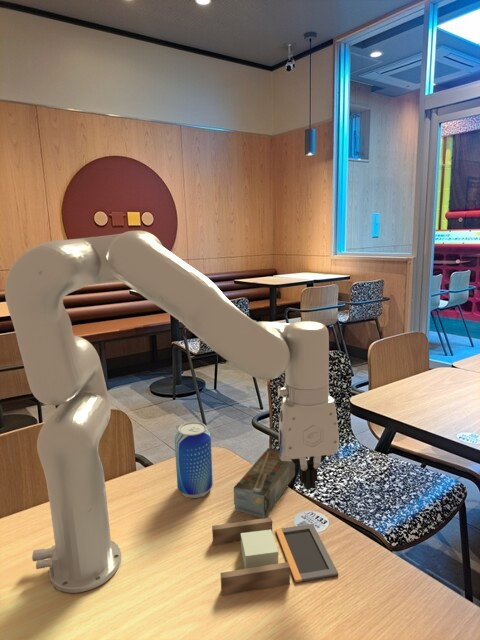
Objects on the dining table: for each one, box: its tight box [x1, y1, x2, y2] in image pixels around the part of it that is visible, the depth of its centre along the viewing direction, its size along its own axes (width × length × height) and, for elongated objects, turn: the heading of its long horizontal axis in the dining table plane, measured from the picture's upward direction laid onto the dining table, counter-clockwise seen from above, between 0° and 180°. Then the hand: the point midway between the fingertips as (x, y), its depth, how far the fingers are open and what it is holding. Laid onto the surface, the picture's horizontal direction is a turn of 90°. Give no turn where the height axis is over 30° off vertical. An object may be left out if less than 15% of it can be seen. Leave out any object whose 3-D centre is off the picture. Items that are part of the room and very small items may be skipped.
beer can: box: [174, 421, 214, 499], centre depth 103 cm, size 8×8×16 cm
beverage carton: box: [233, 447, 296, 519], centre depth 103 cm, size 8×19×7 cm, turn 152°
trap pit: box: [275, 523, 339, 584], centre depth 84 cm, size 8×13×1 cm, turn 10°
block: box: [240, 530, 279, 569], centre depth 82 cm, size 6×6×4 cm
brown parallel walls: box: [211, 517, 291, 596], centre depth 81 cm, size 12×13×4 cm
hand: (308, 484), depth 81 cm, fingers closed
